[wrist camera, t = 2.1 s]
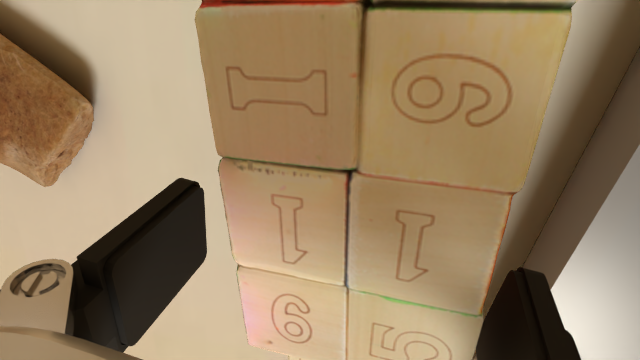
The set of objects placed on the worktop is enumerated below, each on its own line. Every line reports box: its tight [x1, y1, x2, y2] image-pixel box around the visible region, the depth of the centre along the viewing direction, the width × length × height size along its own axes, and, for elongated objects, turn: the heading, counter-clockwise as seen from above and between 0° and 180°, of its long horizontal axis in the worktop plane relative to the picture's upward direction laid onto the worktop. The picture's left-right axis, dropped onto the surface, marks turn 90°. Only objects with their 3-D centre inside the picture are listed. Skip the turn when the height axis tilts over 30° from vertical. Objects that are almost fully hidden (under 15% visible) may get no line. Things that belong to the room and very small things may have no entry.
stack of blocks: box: [195, 0, 577, 360], centre depth 14 cm, size 21×6×12 cm, turn 0°
